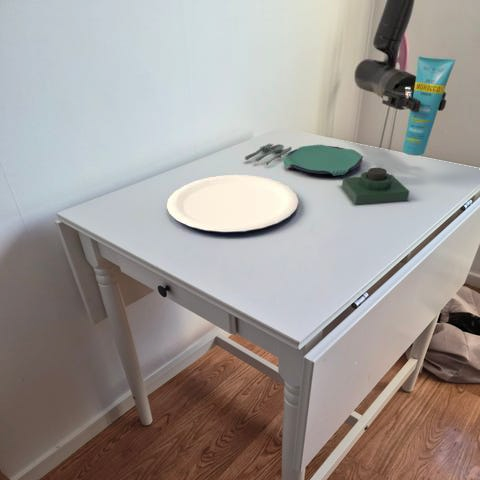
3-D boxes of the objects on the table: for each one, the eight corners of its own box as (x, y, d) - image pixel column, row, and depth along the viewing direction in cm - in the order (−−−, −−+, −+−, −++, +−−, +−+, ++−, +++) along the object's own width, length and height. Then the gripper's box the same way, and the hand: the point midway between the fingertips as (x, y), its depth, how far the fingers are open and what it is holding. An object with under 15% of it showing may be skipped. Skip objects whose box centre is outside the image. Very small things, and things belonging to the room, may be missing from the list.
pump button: (381, 174, 97) (382, 166, 96) (388, 181, 94) (389, 173, 93) (364, 175, 97) (365, 168, 96) (370, 182, 94) (372, 174, 93)
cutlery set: (344, 185, 102) (346, 176, 100) (239, 164, 114) (239, 155, 113) (371, 159, 115) (373, 151, 113) (273, 143, 127) (274, 135, 126)
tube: (394, 152, 99) (415, 57, 87) (400, 146, 102) (421, 54, 90) (427, 158, 96) (453, 60, 84) (432, 152, 99) (458, 56, 87)
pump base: (389, 183, 102) (393, 166, 100) (407, 200, 95) (411, 183, 92) (341, 186, 101) (343, 170, 99) (355, 204, 94) (358, 187, 91)
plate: (220, 172, 110) (220, 166, 109) (321, 197, 97) (322, 190, 96) (139, 215, 93) (138, 207, 91) (249, 253, 79) (249, 245, 78)
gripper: (372, 72, 100) (402, 89, 87) (430, 69, 101) (468, 84, 88) (367, 107, 105) (394, 127, 92) (422, 103, 106) (457, 122, 93)
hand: (430, 106), depth 90 cm, fingers closed on tube, 5 cm apart
